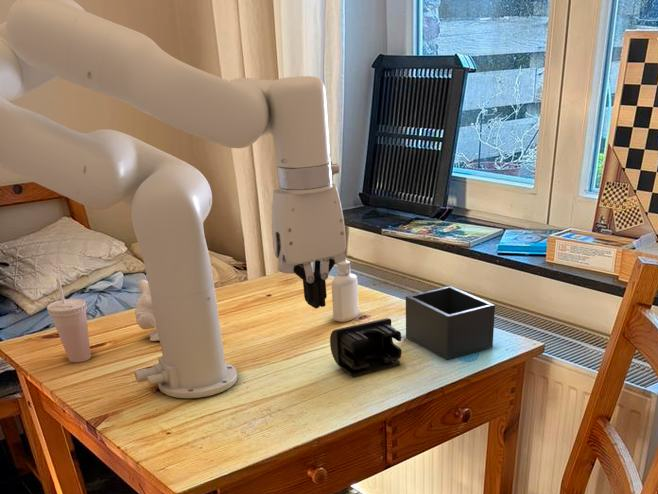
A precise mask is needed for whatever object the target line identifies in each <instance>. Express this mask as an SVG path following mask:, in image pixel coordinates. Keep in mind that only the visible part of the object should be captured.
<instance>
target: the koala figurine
mask: <svg viewBox="0 0 658 494" xmlns="http://www.w3.org/2000/svg"><path fill="white" fill-rule="evenodd" d="M138 289H139V291H140V292H141V294H140V297H139V298H138V299H137V302H136V306H135V310H134V314H135V321H136V324H137V325H138V326H139V328H140V329H142V330H145V331H147V330H151V329H152V330H153V331H150V332H148V337H149V341H150V342H158V341H159V342H160V340H159V335H158V330H157V324H156V319H155V314H154V309H153V304H152V299H151V293H150V289H149V284H148V280H146V279H140V280H139V282H138ZM154 329H155V330H154Z"/></svg>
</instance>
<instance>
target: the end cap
mask: <svg viewBox="0 0 658 494" xmlns="http://www.w3.org/2000/svg"><path fill="white" fill-rule="evenodd" d="M393 339H394V340H396V341H398V342H401V341H402V333H401V331H399V330H398V329H396V328H395V327H393V326H392V319H391V318H389V317H388V318H387V317H386V318H382V319H381V318H380V319H377V320H372V321H367V322H363V323H358V324H354V325H349V326H345V327H341V328H336V329H333V330H332V331H331V333H330V336H329V345H330V346H329V347H330V352H331V355H332V357H333V358H332V359H333V360H334V362H335V363H336V365H337V366H338V367H339V368H340V369H341V371H343V372H344V373H346V374H347V375H348V376H350V377H351V378H358V377H361V376H366V375H369V374H373V373H378V372H382V371H386V370H390V369H393V368H397V367H400V366H401V361H400V359H401V358H402V351H403V350H402V348H401V347H400V346H399V345H397V344H395V342H394V341H393Z"/></svg>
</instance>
